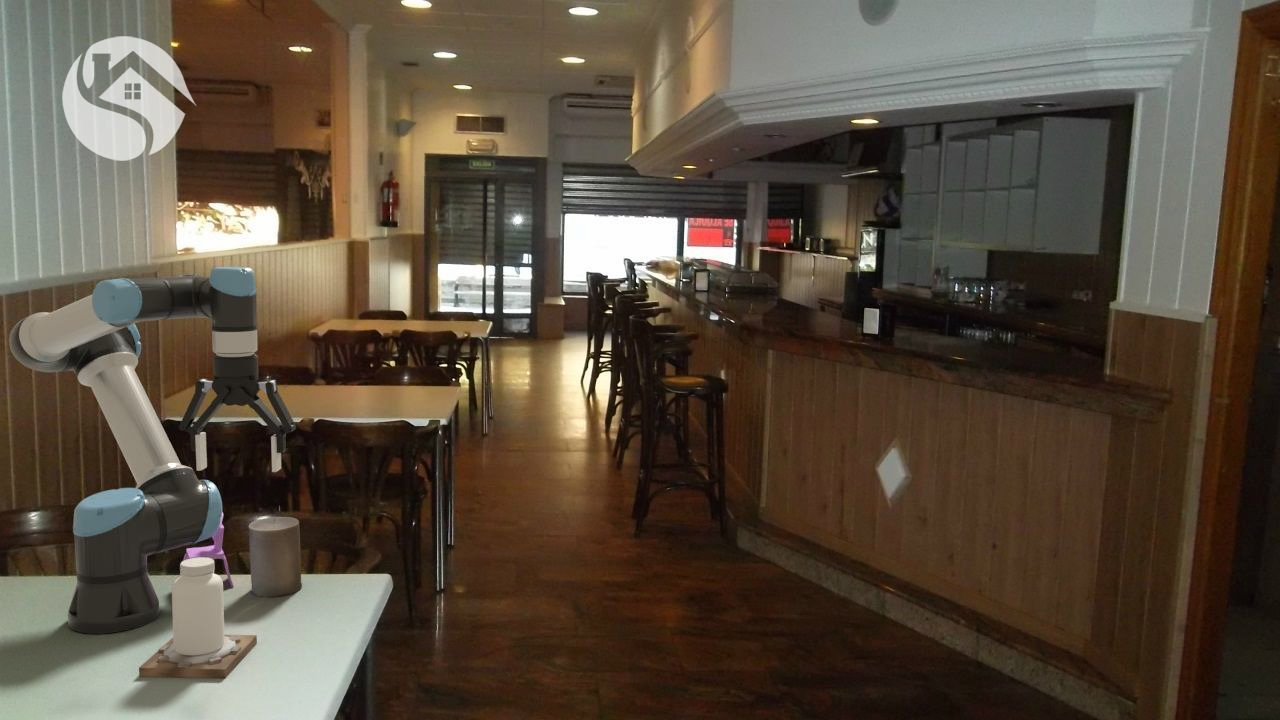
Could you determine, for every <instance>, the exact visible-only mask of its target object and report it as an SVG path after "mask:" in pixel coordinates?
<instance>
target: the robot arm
mask: <svg viewBox="0 0 1280 720" xmlns="http://www.w3.org/2000/svg"><path fill="white" fill-rule="evenodd" d="M255 278H256V276H255V271H254V270H253V269H252V268H251V267H247V266H246V267H245V266H240V267H239V266H217V267H215V266H214V267H213V268H211V270H210V272H209V276H204V275H199V274H183V275H178V276H165V277H140V278H139V277H138V278H137V277H136V278H134V277H133V278H125V277H118V278H114V279H105V280H102V281H100V282H98V283H97V284H96V285H95V288H94V289H93V291H92V294H90V295H87V296H85V297H83V298H81V299H79V300H77V301H73V302H71V303H70V304H67V305H65V306H62V307H61V308H59V309H56V310H53V311H51V312H46V311H42V312H36V313H35V312H34V313H33V314H29V316H26V317H24V318H22V319H21V320H19V321H18V322H17V323H16V324H15V325H14V326H13V327H12V329H11V331H10V334H9V338H8V339H9V340H8V343H9V344H8V345H9V349H10V351H11V353H12V355H13V357H14V358H15V359H16V360H17V362H18V363H21V365H23V366H25V367H26V368H28V369H31V370H34V371H37V372H43V373H60V372H70V371H71V372H72V371H73V372H74V374H75V377H76V378H77V381H78V382H79V383H80V384H81V385H82V386H86V387H90V388H91V391H92V392H93V395H94V396H95V397H94V398H96V400H97V403H98V405H99V407H100V409H101V411H102V413H103V415H104V417H105V420H106V422H107V423H108V426H109V428H110V430H111V432H112V434H113V436H114V438H115V440H116V442H117V444H118V445H117V446H118V447H119V449H120V451H121V453H122V455H123V457H124V459H125V462H126V463H127V465H128V467H129V469H130V471H131V474H132V477H134V480H135V482H136V486H135V487H120V488H117V489H114V488H113V489H108V490H103V491H99V492H97V493H94V494H91V495H89V496H87V497H86V498H83V499H82V500H81V501H80V502H79V503H78V504H76V507H75V508H74V511H73V512H74V513H73V525H72V533H73V537H74V538H73V540H74V552H75V553H74V554H75V569H76V570H75V571H76V585H75V589H74V591H73V595H72V599H71V602H70V605H69V608H68V612H67V623H68V628H70V629H71V630H72V631H75V632H77V633H82V634H83V633H84V634H91V635H92V634H96V635H97V634H99V635H100V634H113V633H118V632H123V631H124V632H125V631H128V630H132V629H136V628H140V627H141V626H144V625H147V624H149V623H150V622H153V621H154V620H155V619H157V618H158V617H159V615H160V601H159V598H158V595H157V594H156V591H155V589H154V586H153V584H152V581H151V578H150V576H149V574H148V556H151V555H155V554H158V553H163V552H167V551H170V550H174V549H178V548H182V547H185V546H189V545H190V546H192V545H195V544H197V543H199V542H202V541H205V540H208V539H210V538H212V536H213V535H214V534H215V532H216V531H217V530H218V528H219V525H220V522H221V517H222V512H223V501H222V497H221V493H220V491H219V489H218V487H217V485H216V484H214V482H212V481H210V480H208V479H198V477H197V475H196V473H195V471H194V469H193V468H192V467H190V466H187V465H183V464H182V463H181V462H180V460H179V457H178V456H177V453H176V451H175V449H174V447H173V445H172V443H171V441H170V440H169V437H168V435H167V433H166V431H165V429H164V427H163V425H162V423H161V421H160V419H159V417H158V414H157V413H156V410H155V409H154V407H153V404H152V403H151V400H150V399H149V397H148V395H147V392H146V390H145V388H144V387H143V384H142V383H141V381H140V378H139V376H138V374H137V372H136V371H135V370H136V367H137V366H138V364H139V357H140V356H141V353H142V352H141V351H142V342H140V339H141V335H140V332H139V330H138V327H137V325H136V324H138V323H140V322H142V323H143V322H152V321H162V320H163V321H164V320H178V319H179V320H180V319H190V318H191V319H193V318H204V319H205V318H206V319H211V330H212V332H211V335H212V338H211V339H212V344H211V345H212V352H213V353H215V355H214V356H213V357H212V365H213V367H212V368H213V370H212V371H213V380H208V379H207V378H201V379H199V380H197V381H196V382H195V387H194V394H193V396H192V398H191V400H190V402H189V404H188V407H187V408H186V411H185V413H184V415H183V416H182V419H181V421H180V424H179V425H178V429H179V431H181V432H182V431H184V432H187V433H188V434H189V436H190V450H191V452H195V460H196V461H195V462H196V472H197V471H203V470H204V469H207V467H208V458H207V456H208V455H207V433H206V431H205V432H204V431H203V428H204V427H205V426H206V425H207V424H208V423H209V421H210V420H211V419H212V418H213V417H214V415H216V413H217V412H218V411H219V409H220V408H221V407H222V406H223V405H224V404H225V406H226V407H227V406H234V405H236V406H239V407H244V406H247V405H248V406H249V408H250V409H252V410H253V411H255V413H256V414H257V415H258V416H259V417H260V418H261V420H262V421H263V422H264V423H265V424H266V426H267V427H268V428H269V429H270V430H271V431H272V432H273V433H274V434H273V435H271V436H270V441H271V442H270V443H271V444H270V445H271V446H270V447H271V472H272V473H277V472H278V471H280V470H281V469H282V454H283V453H285V452H286V449H287V444H286V443H287V441H286V436H287V434H290V433H292V432H294V431H295V430H296V429H297V425H296V423H295V421H294V420H293V417H292V416H291V414H290V412H289V410H288V408H287V406H286V405H285V402H284V400H283V399H282V396H281V395H280V393H279V389H278V383H277V381H276V379H271V380H269V381H260V379H259V355H257V354H256V352H257V351H258V329H257V328H258V326H257V325H258V320H257V316H258V315H257V313H258V312H257V310H258V309H257V292H258V290H257V287H256V286H257V285H256V279H255ZM211 389H212V390H213V391H214V393H215V394H216V396H215V397H214V399H213V400H212V401H211V402H210V404H209V405H208V407H207V408H206V409H205V410H204V412H202V414H201V415H200V416H199V417H198V418H197V420H195V418H196V417H197V415H198V412H199V410H200V408H201V406H202V405H203V402H204V400H205V399H206V396H207V393H208V392H210V391H211ZM260 390H262V391H263V393H264V394H266V397H267V398H268V400H269V402H270V404H271V407H272V408H273V410H274V412H275V414H276V415H277V417H278V418H277V417H276V415H275V414H274V413H273V412H272V411H271V410H270V408H269V407H268V406H266V404H265V403H264V400H263V399H262V398H261V397H260V395H258V393H259V391H260ZM194 421H195V422H194Z"/></svg>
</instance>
